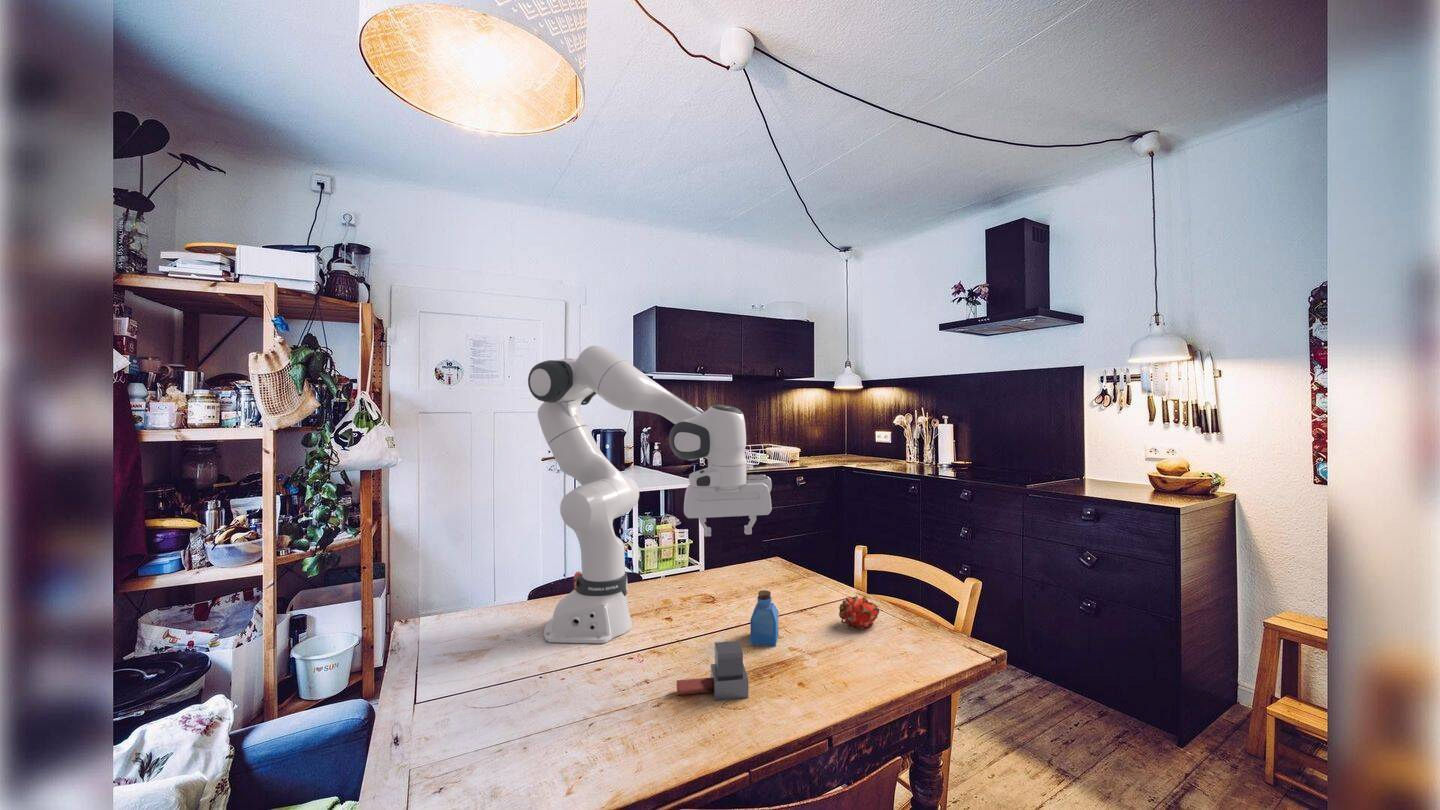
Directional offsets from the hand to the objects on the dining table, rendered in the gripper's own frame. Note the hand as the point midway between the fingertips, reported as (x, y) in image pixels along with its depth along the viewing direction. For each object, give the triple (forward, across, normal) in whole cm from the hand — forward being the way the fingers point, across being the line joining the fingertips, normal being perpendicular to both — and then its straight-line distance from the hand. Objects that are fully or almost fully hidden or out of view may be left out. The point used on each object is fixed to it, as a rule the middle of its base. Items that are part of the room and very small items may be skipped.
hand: (727, 534), depth 136 cm
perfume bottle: (+29, -10, -7) cm, 32 cm away
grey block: (+25, +2, +14) cm, 29 cm away
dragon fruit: (+29, -36, -11) cm, 48 cm away
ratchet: (+29, +6, +14) cm, 33 cm away
